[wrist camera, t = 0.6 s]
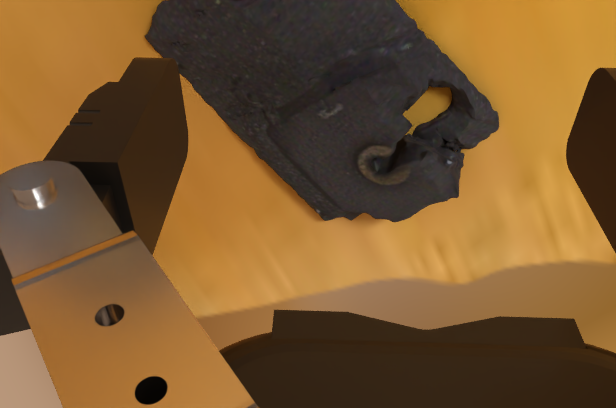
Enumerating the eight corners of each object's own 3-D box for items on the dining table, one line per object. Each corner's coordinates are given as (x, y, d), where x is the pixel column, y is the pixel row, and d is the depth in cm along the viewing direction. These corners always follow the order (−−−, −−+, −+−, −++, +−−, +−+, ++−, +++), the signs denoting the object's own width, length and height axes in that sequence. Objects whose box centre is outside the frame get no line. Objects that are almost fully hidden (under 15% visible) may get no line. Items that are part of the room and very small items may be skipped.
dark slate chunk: (314, -155, 29) (313, -142, 25) (510, 130, 40) (530, 168, 36) (126, 26, 35) (103, 58, 32) (338, 231, 46) (339, 273, 42)
